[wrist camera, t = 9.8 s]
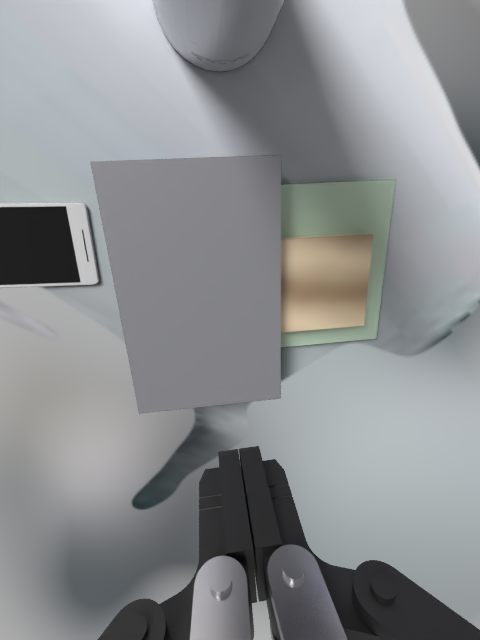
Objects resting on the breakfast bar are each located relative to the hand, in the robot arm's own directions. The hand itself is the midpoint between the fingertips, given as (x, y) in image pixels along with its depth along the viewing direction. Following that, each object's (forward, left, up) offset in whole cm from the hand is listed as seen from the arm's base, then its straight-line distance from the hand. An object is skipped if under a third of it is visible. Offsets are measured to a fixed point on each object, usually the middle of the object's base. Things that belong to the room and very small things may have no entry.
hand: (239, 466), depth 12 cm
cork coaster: (-1, +10, -21) cm, 23 cm away
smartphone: (-6, -18, -22) cm, 29 cm away
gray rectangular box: (-1, -1, -22) cm, 22 cm away
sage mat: (-2, +12, -22) cm, 25 cm away
